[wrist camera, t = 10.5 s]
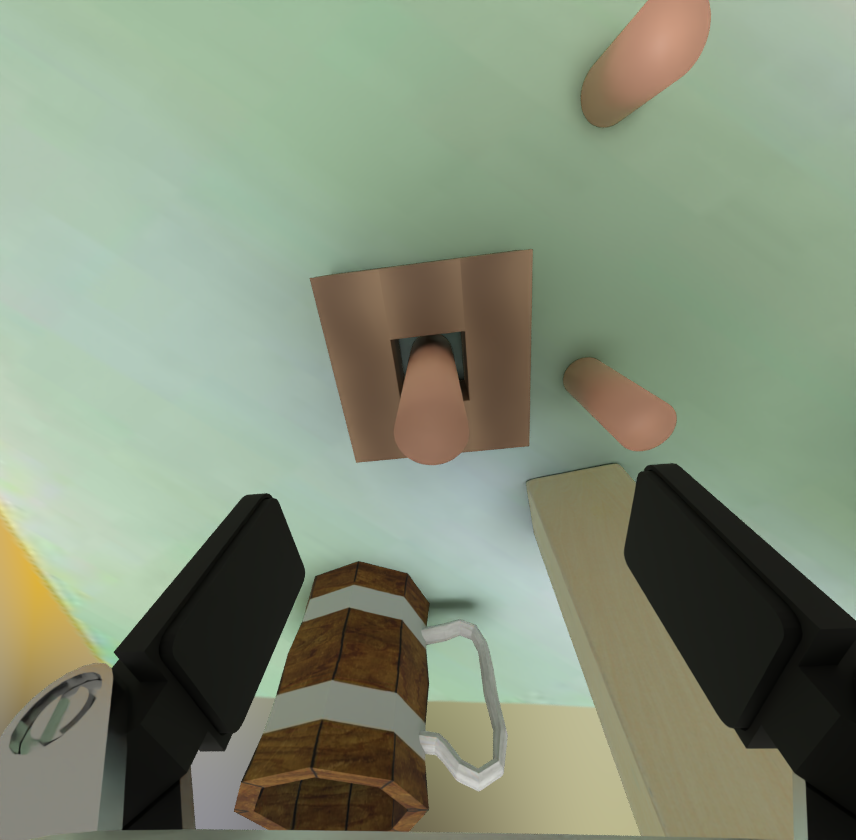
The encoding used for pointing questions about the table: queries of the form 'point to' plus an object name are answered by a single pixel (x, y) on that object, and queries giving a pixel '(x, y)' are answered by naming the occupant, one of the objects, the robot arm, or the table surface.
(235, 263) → the table surface
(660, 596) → the robot arm
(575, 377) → the pin medium
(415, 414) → the pin long
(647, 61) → the pin short
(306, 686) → the mug
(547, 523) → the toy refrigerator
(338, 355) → the hole block
